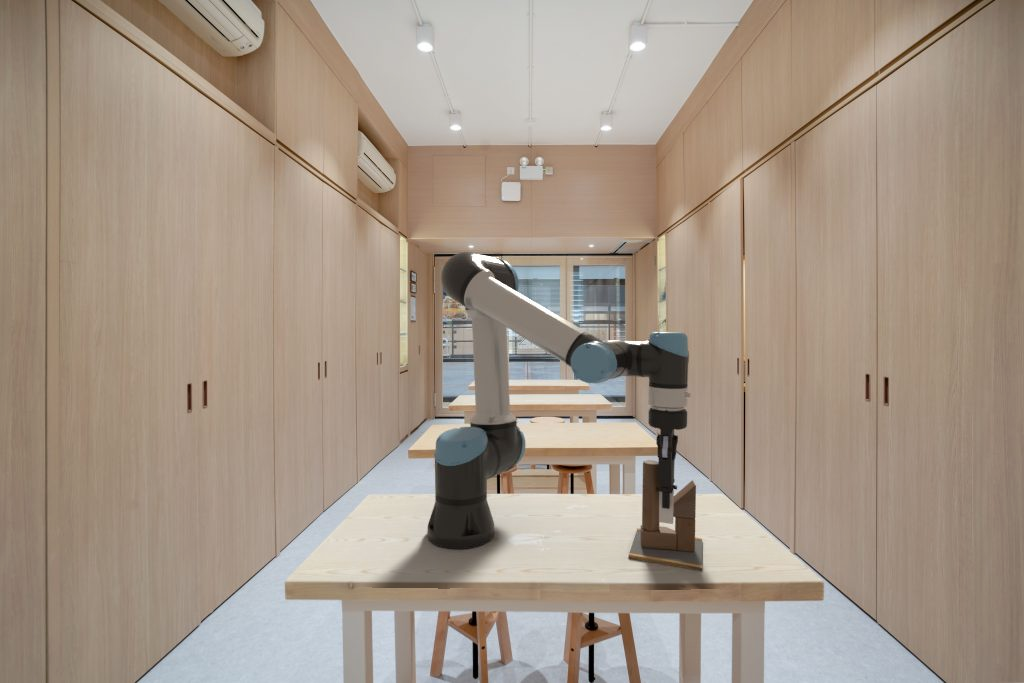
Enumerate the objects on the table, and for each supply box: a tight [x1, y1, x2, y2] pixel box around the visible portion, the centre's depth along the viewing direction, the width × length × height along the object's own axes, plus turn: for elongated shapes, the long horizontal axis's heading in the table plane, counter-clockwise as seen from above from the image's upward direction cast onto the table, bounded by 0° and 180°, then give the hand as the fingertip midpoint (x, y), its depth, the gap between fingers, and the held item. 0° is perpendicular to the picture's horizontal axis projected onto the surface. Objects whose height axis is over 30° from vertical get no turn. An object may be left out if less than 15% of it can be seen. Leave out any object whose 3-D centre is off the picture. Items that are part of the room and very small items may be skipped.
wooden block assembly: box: [640, 459, 697, 552], centre depth 103 cm, size 4×11×18 cm, turn 79°
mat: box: [628, 527, 703, 572], centre depth 104 cm, size 14×14×1 cm
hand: (666, 521), depth 100 cm, fingers closed
